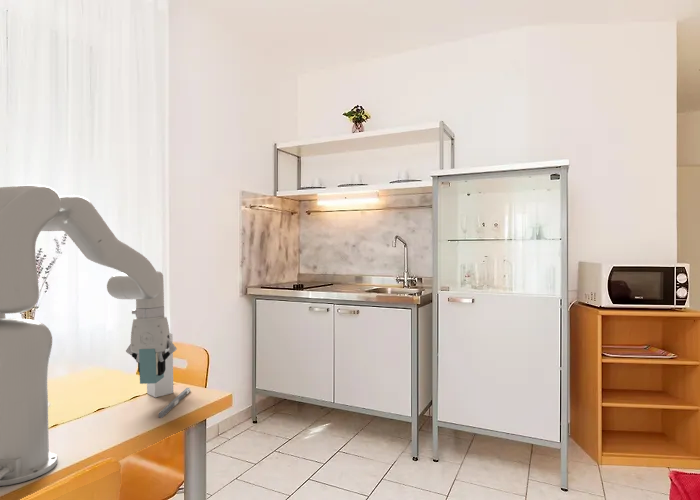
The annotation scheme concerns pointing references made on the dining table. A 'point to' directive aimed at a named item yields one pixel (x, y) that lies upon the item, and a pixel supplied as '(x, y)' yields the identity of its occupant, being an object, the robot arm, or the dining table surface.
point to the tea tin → (149, 366)
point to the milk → (163, 379)
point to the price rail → (173, 402)
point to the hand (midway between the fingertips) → (152, 373)
